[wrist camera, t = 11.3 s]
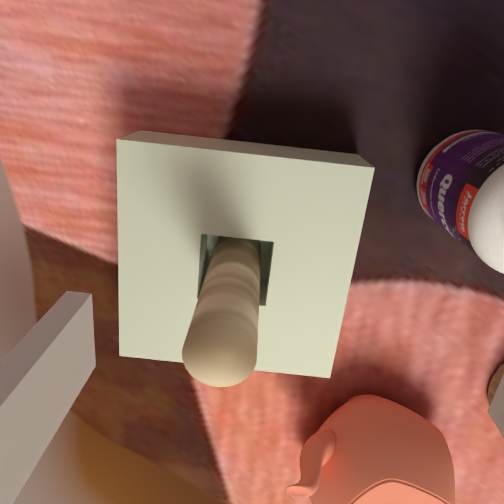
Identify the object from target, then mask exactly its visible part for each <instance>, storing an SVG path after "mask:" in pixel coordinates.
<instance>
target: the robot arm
mask: <svg viewBox="0 0 504 504" xmlns="http://www.w3.org/2000/svg"><path fill="white" fill-rule="evenodd" d="M95 366H96V365H95V346H94V327H93V308H92V294H89V293H81V292H72V291H66V292H65V294H64V295H63V296H62V297H61V298H60V299H59V300H58V301H57V302H56V303H55V304H54V305H53V306H52V308H51V309H50V310H49V311H48V312H47V313H46V314H45V315H44V316H43V317H42V318H41V319H40V320H39V321H38V323H37V324H36V325H35V326H34V327H33V328H32V329H31V330H30V331H29V332H28V333H27V334H26V335H25V337H24V338H23V339H22V340H21V341H20V342H19V343H18V344H17V345H16V346H15V347H14V348H13V349H12V350H11V352H10V353H9V354H8V355H7V356H6V357H5V358H4V359H3V360H2V361H1V362H0V504H13V503H14V501H15V499H16V498H17V496H18V494H19V492H20V491H21V489H22V487H23V486H24V484H25V483H26V481H27V479H28V478H29V476H30V474H31V473H32V471H33V469H34V468H35V466H36V464H37V463H38V461H39V459H40V457H41V456H42V454H43V453H44V451H45V449H46V447H47V446H48V444H49V443H50V441H51V439H52V438H53V436H54V434H55V433H56V431H57V429H58V428H59V426H60V424H61V422H62V421H63V419H64V417H65V416H66V414H67V412H68V411H69V409H70V408H71V406H72V404H73V403H74V401H75V399H76V398H77V396H78V394H79V393H80V391H81V389H82V388H83V386H84V384H85V383H86V381H87V379H88V378H89V376H90V374H91V373H92V371H93V369H94V368H95ZM488 413H489V415H490V416H491V418H492V419H493V421H494V423H495V424H496V426H497V427H498V429H499V431H500V432H501V434H502V435H503V437H504V374H503V377H502V379H501V381H500V384H499V386H498V388H497V391H496V393H495V395H494V398H493V400H492V402H491V405H490V407H489V409H488Z"/></svg>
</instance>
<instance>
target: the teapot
mask: <svg viewBox="0 0 504 504" xmlns="http://www.w3.org/2000/svg"><path fill="white" fill-rule="evenodd" d="M300 470H301V479H300V481H299V482H298V483H297V484H294V485H291V486H288V487H287V488H286V489H285V492H286V493H287V494H288V495H291V496H294V497H299V498H305V497H310V500H311V502H312V504H455V479H454V469H453V462H452V458H451V455H450V451H449V448H448V445H447V443H446V441H445V438H444V436H443V434H442V433H441V432H440V431H439V429H438V428H437V427H436V426H435V425H433V424H432V423H431V422H429V421H428V420H426V419H425V418H423V417H422V416H420V415H418V414H417V413H415V412H413V411H412V410H410V409H408V408H406V407H404V406H402V405H400V404H398V403H395V402H393V401H391V400H388V399H386V398H383V397H380V396H376V395H370V394H367V395H355V396H353V397H351V398H350V399H349V400H348V402H346V403H345V404H344V405H342V406H341V407H339V408H338V409H337V410H336V411H335V412H333V413H332V414H331V415H330V416H329V417H328V418H327V419H326V421H325V422H324V423H323V424H322V426H321V427H320V428H319V430H318V431H317V433H315V434H314V435H312V436H311V437H310V438H309V439H308V440H307V441H306V443H305V444H304V446H303V448H302V450H301V455H300Z"/></svg>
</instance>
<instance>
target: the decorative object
mask: <svg viewBox="0 0 504 504" xmlns="http://www.w3.org/2000/svg"><path fill="white" fill-rule="evenodd" d="M503 374H504V364H501V366H500V367H499V368H498V370H497V371H496V373H495V374H494V376H493V377H492V379H491V381H490V385H489V388H488V390H489V391H488V399H489V406H490V405H491V402H492V400H493V398H494V395H495V393H496V391H497V388H498V386H499V384H500V381H501V379H502V377H503Z"/></svg>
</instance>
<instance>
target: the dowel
mask: <svg viewBox="0 0 504 504" xmlns="http://www.w3.org/2000/svg"><path fill="white" fill-rule="evenodd" d="M260 268H261V243H260V240H253V239H244V238H234V237H225V236H219V237H218V239H217V242H216V245H215V249H214V252H213V255H212V258H211V261H210V264H209V267H208V270H207V273H206V276H205V280H204V283H203V286H202V289H201V292H200V295H199V298H198V301H197V304H196V308H195V311H194V314H193V317H192V320H191V323H190V326H189V329H188V332H187V335H186V339H185V342H184V345H183V348H182V359H183V363H184V365H185V367H186V369H187V370H188V372H189V373H190V374H191V375H192V376H193V377H194V378H195V379H197V380H198V381H200V382H202V383H204V384H207V385H210V386H215V387H228V386H233V385H236V384H238V383H240V382H242V381H244V380H245V379H246V378H248V377H249V376H250V374H251V373H252V372H253V370H254V368H255V366H256V362H257V343H258V318H259V293H260Z"/></svg>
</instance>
